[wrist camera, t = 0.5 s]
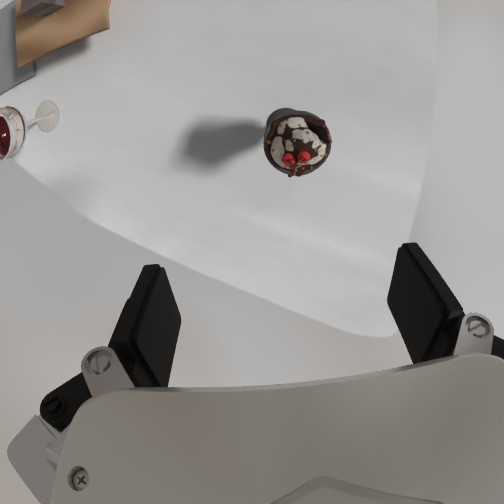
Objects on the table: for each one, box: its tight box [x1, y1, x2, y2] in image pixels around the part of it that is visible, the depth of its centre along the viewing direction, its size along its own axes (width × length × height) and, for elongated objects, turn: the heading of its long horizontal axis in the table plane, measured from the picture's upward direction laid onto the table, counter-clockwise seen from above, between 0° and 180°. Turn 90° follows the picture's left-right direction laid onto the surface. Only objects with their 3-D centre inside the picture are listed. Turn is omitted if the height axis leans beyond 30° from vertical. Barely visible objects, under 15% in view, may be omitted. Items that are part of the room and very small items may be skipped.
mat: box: [0, 0, 36, 95], centre depth 25 cm, size 16×14×1 cm
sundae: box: [264, 108, 332, 177], centre depth 30 cm, size 7×7×15 cm
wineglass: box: [0, 101, 59, 163], centre depth 28 cm, size 7×7×12 cm
